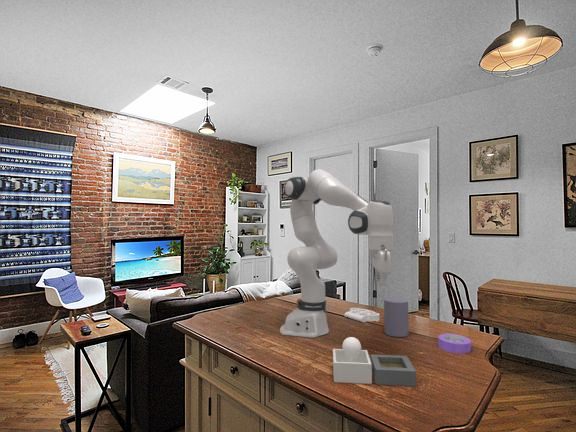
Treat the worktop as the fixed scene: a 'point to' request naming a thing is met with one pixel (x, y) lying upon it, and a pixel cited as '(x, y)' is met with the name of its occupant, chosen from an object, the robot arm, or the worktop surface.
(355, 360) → the lightbulb
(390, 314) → the container
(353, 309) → the white brass knuckles
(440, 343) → the masking tape
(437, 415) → the worktop surface
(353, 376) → the bin
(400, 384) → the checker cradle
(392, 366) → the contact pad
